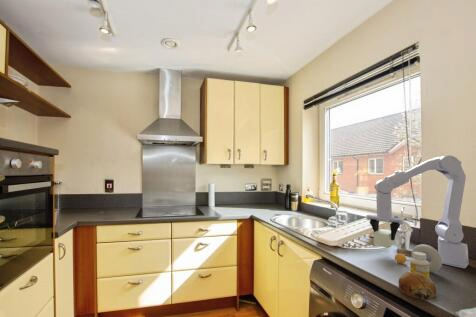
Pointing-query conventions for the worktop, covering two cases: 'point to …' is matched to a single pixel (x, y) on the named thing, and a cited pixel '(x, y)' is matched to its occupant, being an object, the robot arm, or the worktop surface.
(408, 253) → the grey brown bar
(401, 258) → the ball
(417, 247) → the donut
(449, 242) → the robot arm
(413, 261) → the supplement bottle
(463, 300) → the worktop surface
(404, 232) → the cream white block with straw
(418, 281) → the bread roll
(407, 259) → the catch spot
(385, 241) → the cream white block
